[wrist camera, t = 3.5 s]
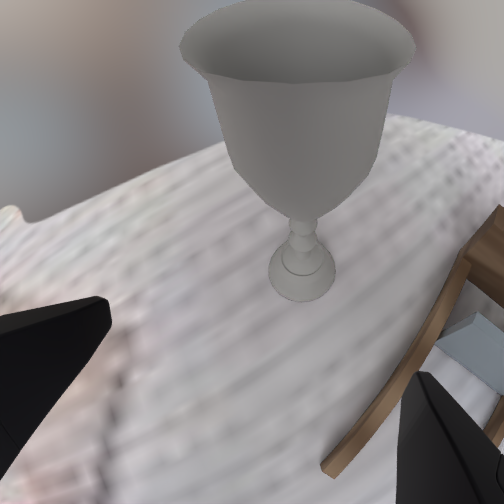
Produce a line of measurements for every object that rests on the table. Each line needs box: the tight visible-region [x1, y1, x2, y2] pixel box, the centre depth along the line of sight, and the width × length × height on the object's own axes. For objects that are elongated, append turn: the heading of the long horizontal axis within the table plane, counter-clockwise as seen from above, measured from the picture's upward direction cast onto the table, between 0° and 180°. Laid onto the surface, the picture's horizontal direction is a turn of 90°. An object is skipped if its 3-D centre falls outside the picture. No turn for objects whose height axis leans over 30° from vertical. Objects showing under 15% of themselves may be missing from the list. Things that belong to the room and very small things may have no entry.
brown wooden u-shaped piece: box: [320, 204, 504, 479], centre depth 14 cm, size 20×11×7 cm, turn 139°
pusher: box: [435, 311, 504, 395], centre depth 14 cm, size 1×8×6 cm, turn 50°
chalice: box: [179, 0, 416, 302], centre depth 15 cm, size 7×7×18 cm
